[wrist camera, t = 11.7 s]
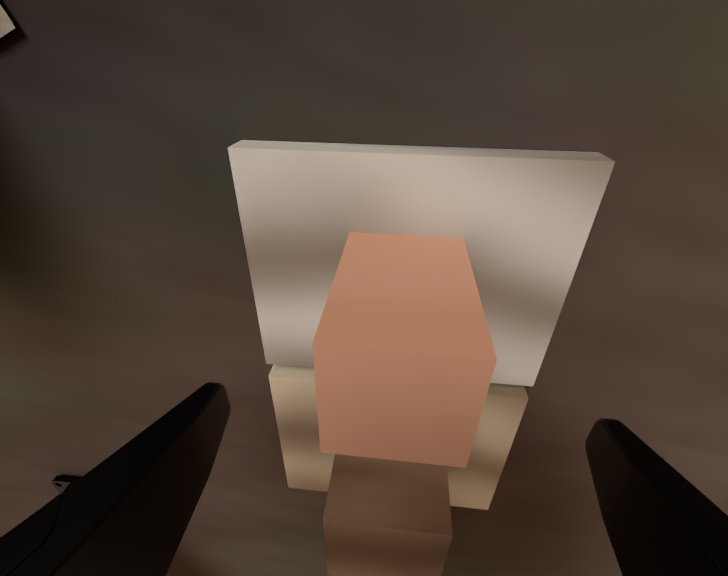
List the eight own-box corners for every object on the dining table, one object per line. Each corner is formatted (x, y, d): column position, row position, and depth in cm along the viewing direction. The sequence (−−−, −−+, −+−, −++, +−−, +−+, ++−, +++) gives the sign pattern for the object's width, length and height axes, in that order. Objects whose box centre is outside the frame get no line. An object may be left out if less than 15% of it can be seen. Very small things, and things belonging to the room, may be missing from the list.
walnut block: (432, 481, 21) (437, 589, 17) (344, 472, 21) (327, 574, 17) (443, 424, 18) (452, 535, 14) (342, 414, 19) (322, 520, 15)
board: (484, 489, 23) (487, 509, 22) (293, 469, 24) (288, 487, 23) (598, 152, 12) (615, 161, 11) (241, 139, 13) (227, 147, 12)
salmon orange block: (447, 328, 15) (466, 468, 10) (349, 321, 15) (320, 452, 10) (463, 238, 13) (496, 358, 8) (349, 232, 13) (312, 343, 8)
